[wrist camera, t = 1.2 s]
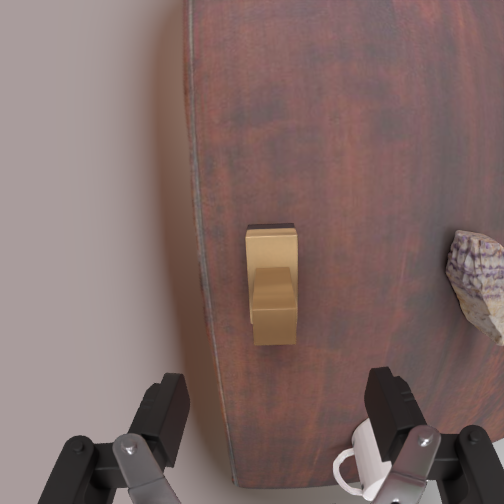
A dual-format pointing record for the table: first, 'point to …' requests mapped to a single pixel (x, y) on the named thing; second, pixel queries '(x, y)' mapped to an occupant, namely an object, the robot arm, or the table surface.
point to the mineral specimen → (479, 281)
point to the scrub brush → (273, 282)
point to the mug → (364, 462)
